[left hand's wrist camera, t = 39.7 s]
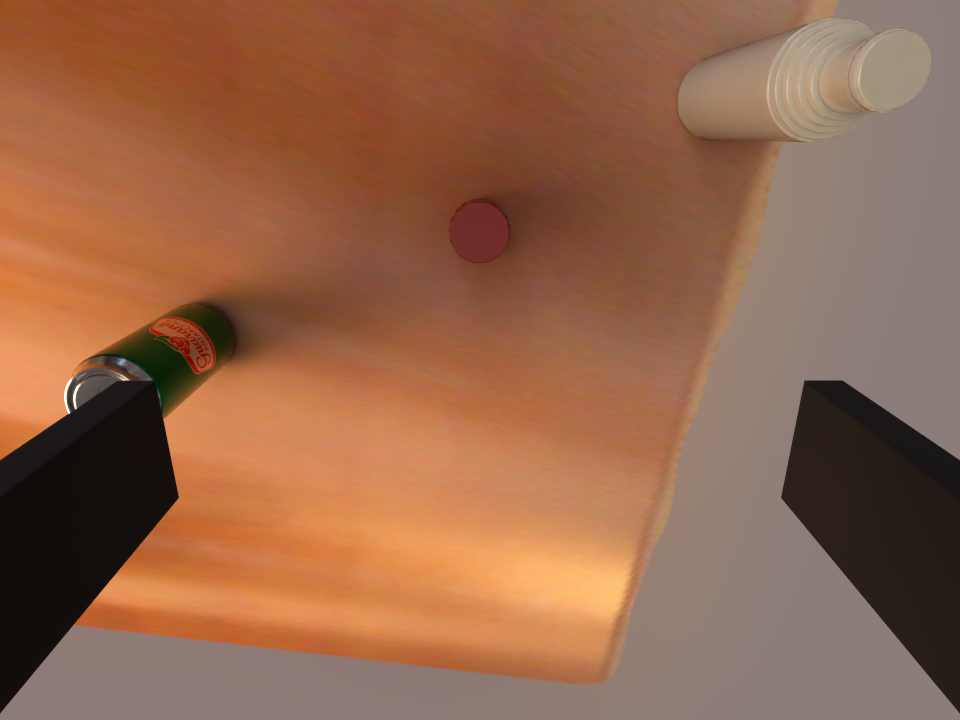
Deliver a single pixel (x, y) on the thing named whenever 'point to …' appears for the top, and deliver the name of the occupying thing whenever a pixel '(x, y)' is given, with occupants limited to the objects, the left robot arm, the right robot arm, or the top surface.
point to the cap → (479, 231)
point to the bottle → (803, 83)
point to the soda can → (159, 357)
